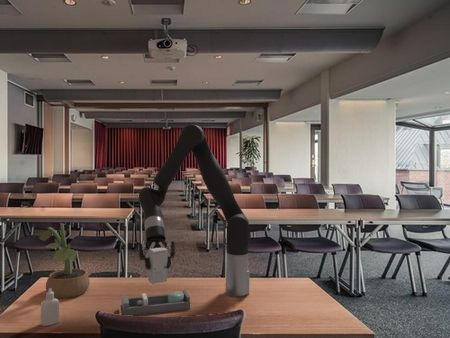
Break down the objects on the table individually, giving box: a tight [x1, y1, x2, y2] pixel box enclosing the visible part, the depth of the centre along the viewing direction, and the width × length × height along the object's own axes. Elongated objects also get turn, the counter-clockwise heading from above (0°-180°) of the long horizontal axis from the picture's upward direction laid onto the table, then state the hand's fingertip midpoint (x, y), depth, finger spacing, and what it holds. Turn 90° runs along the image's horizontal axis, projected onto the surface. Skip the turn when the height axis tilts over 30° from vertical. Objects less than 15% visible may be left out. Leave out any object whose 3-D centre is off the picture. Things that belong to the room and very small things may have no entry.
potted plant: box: [38, 223, 91, 299], centre depth 156 cm, size 22×18×30 cm
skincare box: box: [147, 248, 169, 285], centre depth 143 cm, size 6×4×12 cm
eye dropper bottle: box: [40, 288, 60, 327], centre depth 130 cm, size 4×6×12 cm
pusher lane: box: [121, 289, 191, 316], centre depth 144 cm, size 24×10×5 cm, turn 108°
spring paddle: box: [137, 293, 148, 306], centre depth 142 cm, size 3×7×4 cm, turn 18°
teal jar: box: [167, 291, 184, 303], centre depth 146 cm, size 6×6×4 cm
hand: (158, 268), depth 142 cm, fingers closed on skincare box, 6 cm apart
